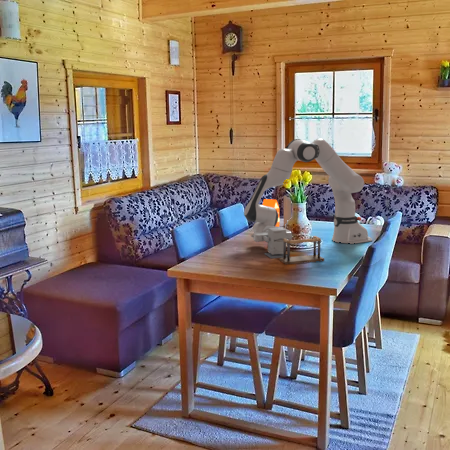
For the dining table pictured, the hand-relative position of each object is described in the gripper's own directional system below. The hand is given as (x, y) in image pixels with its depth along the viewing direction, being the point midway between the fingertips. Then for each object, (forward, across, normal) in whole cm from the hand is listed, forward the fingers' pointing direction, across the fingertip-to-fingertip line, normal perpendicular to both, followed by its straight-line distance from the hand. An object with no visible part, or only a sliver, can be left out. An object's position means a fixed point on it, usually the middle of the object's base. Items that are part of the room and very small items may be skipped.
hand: (277, 239), depth 281 cm
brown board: (+13, +8, +9) cm, 18 cm away
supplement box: (-1, 0, +8) cm, 8 cm away
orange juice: (-60, +18, +10) cm, 63 cm away
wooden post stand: (+13, +8, +8) cm, 17 cm away
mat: (-1, 0, +9) cm, 9 cm away
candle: (-70, +38, +10) cm, 80 cm away
